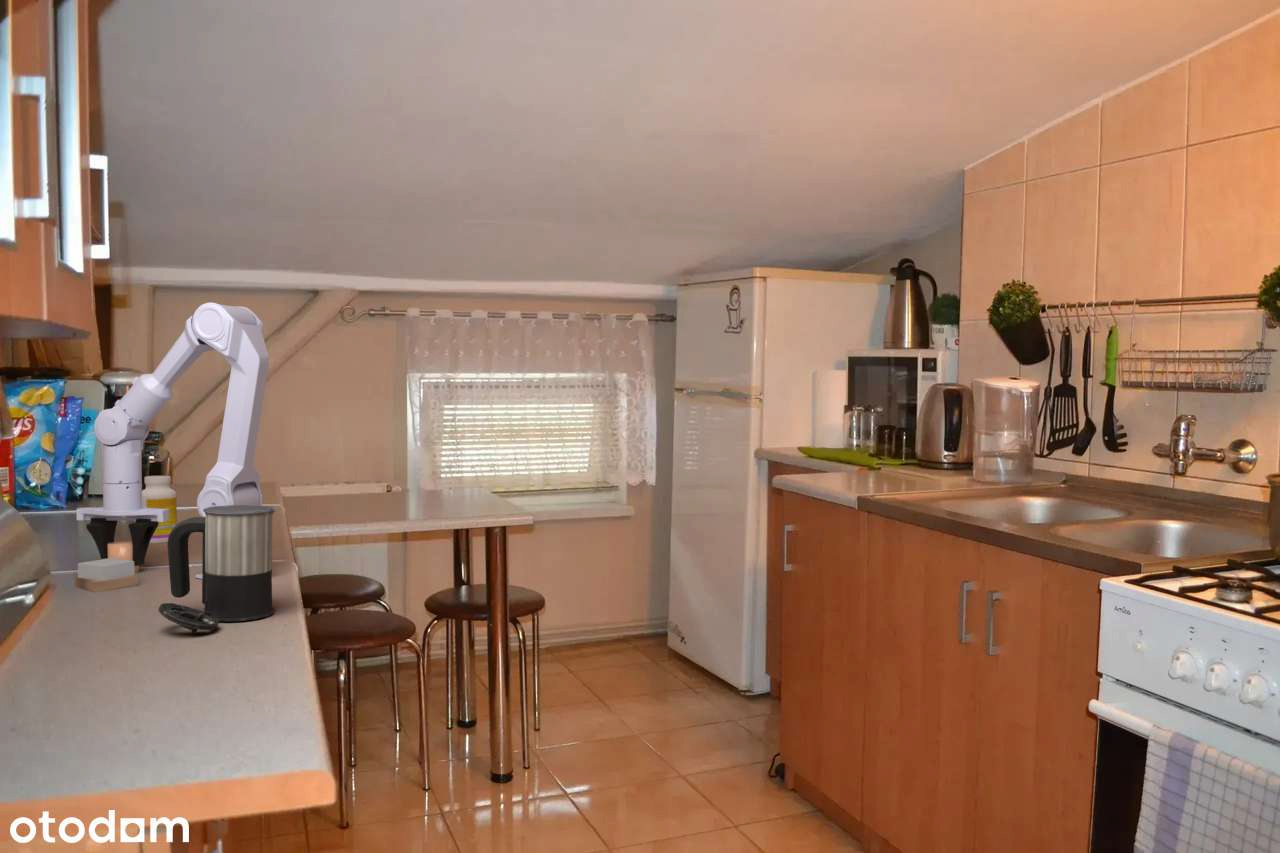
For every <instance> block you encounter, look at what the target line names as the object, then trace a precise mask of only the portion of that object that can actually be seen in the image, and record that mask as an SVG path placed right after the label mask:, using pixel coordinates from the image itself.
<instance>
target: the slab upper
mask: <svg viewBox="0 0 1280 853" xmlns="http://www.w3.org/2000/svg"><path fill="white" fill-rule="evenodd" d="M132 575H135V574H134V561H129V560H121V559H114V558H107V559H101V558H100V559H96V560H90V561H83V562H77V576H78V578H84V579H91V580H98V581H106V580H111V579H116V578H122V577H127V576H132Z"/></svg>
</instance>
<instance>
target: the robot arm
mask: <svg viewBox="0 0 1280 853" xmlns="http://www.w3.org/2000/svg"><path fill="white" fill-rule="evenodd" d="M263 327H264V323H263V322H262V320H261V319H260V318H259V317H258V316H257V314H256V313H254V311H253V310H251V309H250V308H248V307H246V306H240V305H239V306H234V305H224V304H219V303H215V302H205V303H203V304H201V305H199V307H198V308H197V309H195V311H194V313H193V315H191V316H190V317H189V318H187V320H186V321H185V326H184V329H183V331H182V333H181V334H180V335H179V337H178V338H177V339H176V341H175V342H174V344H173V345H172V346H171V348H170V349H169V350H168V352H167V353H166V355H165V356H164V357H163V359H162V360H161V362H159V364H158V365H157V367H156V368H155V369H154V371H153V372H152V373H143V374H141V375H140V376H135V377H134V378H133V380H132V381H131V383H132V385H131V387H130V388H129V389H128V390H127V391H126V393H125V394H124V395H123V396H122V397H121V398H120V399H117V400H116V401H115V403H114V406H113V407H112V408H106V409H103V410H101V411H99V413H98V415H97V417H96V418H95V421H94V425H93V426H94V427H93V428H94V430H93V431H94V434H95V436H96V438H97V439H98V441H100V443H102V490H103V491H102V496H103V497H102V500H103V501H102V503H103V504H102V507H99V506H98V507H97V506H96V507H81V508H80V507H79V508H76V521H90V522H89V523H87V524H86V530H87V531H88V532H89V534H90V536H91V537H92V539H93V540H94V542H95V544H96V547H97V550H98V554H99V556H100V560H101V559H107V558H108V546H107V544H108V543H110V542H115V536H116V528H117V525H118V521H125V522H126V521H128V522H129V521H130V522H131V523H128V528H129V532H130V536H131V541H132V545H133V561H134V566H139V567H140V566H142V565H145V560H146V555H147V551H148V548H149V544H151V543H150V540H151V538H152V536H153V534H154V532H155V530H156V528H157V527H158V524H159V522H165V521H168V520H169V509H157V508H145V507H142V490H143V482H142V481H143V480H142V479H143V478H142V476H143V475H142V458H143V457H142V455H143V454H142V452H143V450H144V442H145V440H146V439H147V437H148V436H149V433H150V428H151V426H150V424H151V422H152V421H153V420H154V419H155V418H156V416H157V415H158V414H159V413H160V411H161V410H162V409H163V408H164V407H165V405H167V404H168V403H169V401H170V400H171V399H172V397H173V387H172V386H173V385H174V384H175V383H176V382H177V381H178V380H179V379H180V378H181V377H182V375H183V374H184V373H185V372H186V371H188V369H190V367H191V366H193V364H194V363H195V362H196V361H197V360H198V359H199V358H200V357H201V356H202V355H203V354H204V353H206V352H212V351H217V352H219V353H220V355H222V357H224V359H225V360H226V361H227V363H229V365H230V368H231V369H230V375H229V382H228V388H227V394H226V402H225V407H224V413H223V414H224V415H223V422H222V429H221V436H220V440H219V448H218V454H217V460H216V464H215V465H214V466H213V467H212V468H211V469H210V471H209V472H208V473H207V475H206V476H205V484H204V486H203V488H202V489H201V491H200V492H199V494H198V496H197V499H196V508H197V512H198V514H199V517H205V512H203V509H204V508H208V507H213V506H225V505H262V506H263V493H262V492H261V491H262V490H261V485H260V484H261V474H260V473H259V472H258V471H257V469H256V468H255V467H254V461H255V457H256V456H255V455H256V448H257V443H258V437H259V436H258V435H259V431H260V430H259V429H260V424H261V418H262V410H263V404H264V397H265V392H266V391H265V390H266V384H267V377H268V371H269V370H268V369H269V365H270V356H269V353H268V348H267V346H266V342H265V338H264V335H263ZM129 516H130V517H129ZM132 521H133V523H132ZM195 578H196V579H199V580H200V579H201V580H202V579H203V578H202V573H200V574H195Z"/></svg>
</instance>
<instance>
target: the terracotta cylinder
mask: <svg viewBox="0 0 1280 853" xmlns="http://www.w3.org/2000/svg"><path fill="white" fill-rule="evenodd" d="M107 546H108V558H114V559H121V560H129V561H133V545H132V540H118V541H114V542H110V543H108V544H107ZM138 573H140V565H139V566H134V575H136V574H138Z"/></svg>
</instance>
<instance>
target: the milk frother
mask: <svg viewBox="0 0 1280 853" xmlns="http://www.w3.org/2000/svg"><path fill="white" fill-rule="evenodd" d="M203 512H205V517H201V516H196V517H195V516H193V517H189V518H187V519H184V520H182V521H180V522H177V525H176V526H175V527H174V528H173V529H172V531H171V532H170V535H169V537H168V542H167V553H168V554H167V557H168V558H167V559H168V569H169V571H168V572H169V581H170V583H169V584H170V593H171V595H172V596H173V597H174V598H179V599H180V598H185V597H186V596H187V595H188V594H189V593H190V591H191V581H190V579H191V576H190V560H189V539H190V535H191V534H193V533H202V552H201V553H202V558H201V559H202V560H201V561H202V569H201V571H202V572H201V574H202V578H203V579H201V580H202V581H201V583H202V584H201V593H202V594H201V603H202V604H203V605H204V609H203V610H199V609H196V608H193V607H189V606H186V605H182V604H176V603H173V602H169V603H168V602H166V603H165V602H164V603H161V604H160V605H159V607H158V612H159V614H160V615H161V616H163V617H164V618H165V619H166V620H168V621H170V622H172V623H174V624H176V625H179V626H181V627H182V628H185V629H187V630H190V631H191V633H192V634H196V633H197V631H198V630H200V631H212V630H213V631H214V630H216V629H217V628H218V627H219V624H220V622H244V621H253V620H259V619H260V620H261V619H263V618H266V617H270V616H271V615H274V613H275V609H274V606H273V579H272V578H273V577H272V576H273V573H272V571H273V569H272V568H273V516H274V513H275V512H276V508H275V507H274V506H269V505H263V504H262V505H225V506H213V507H208V508H204V509H203Z"/></svg>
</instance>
